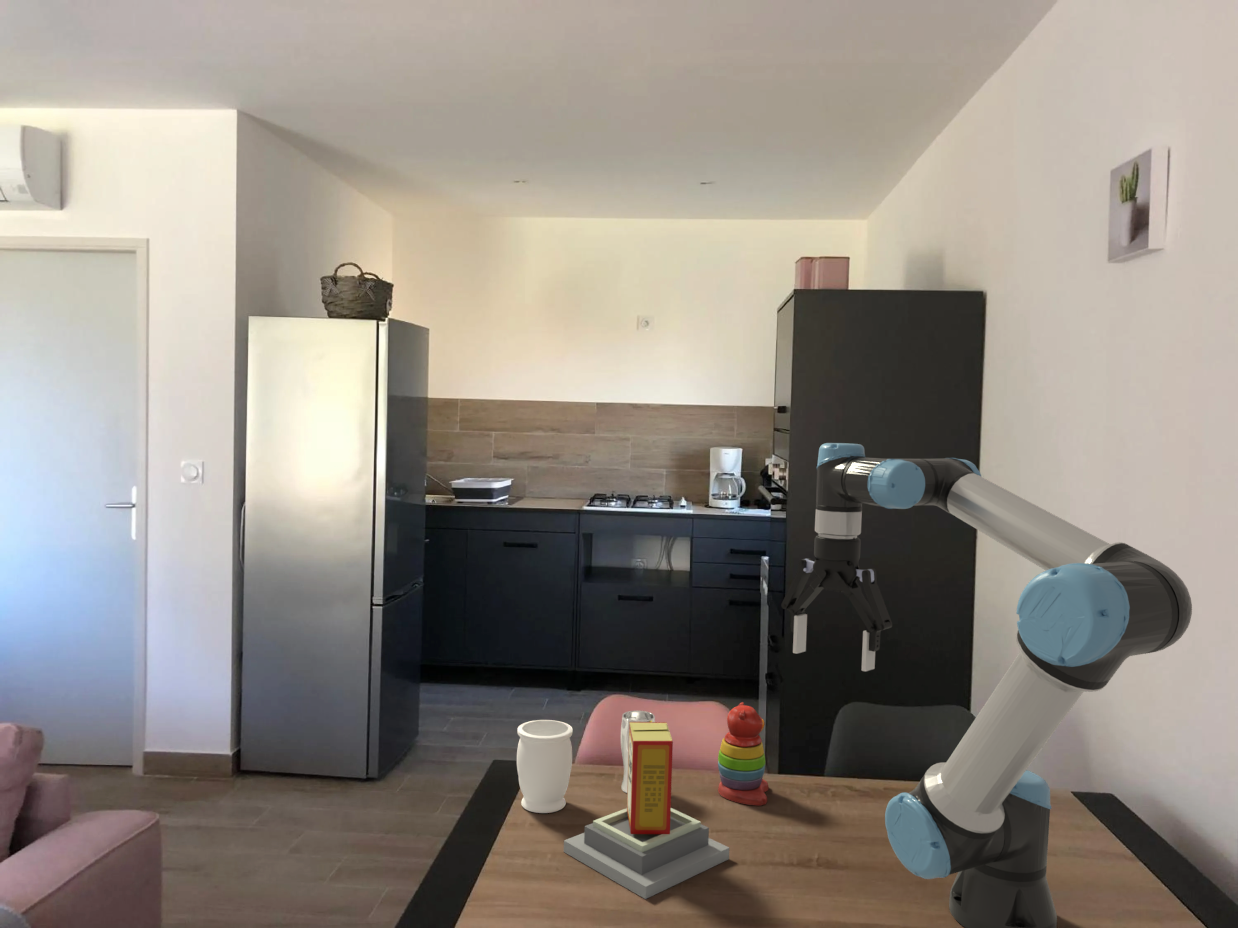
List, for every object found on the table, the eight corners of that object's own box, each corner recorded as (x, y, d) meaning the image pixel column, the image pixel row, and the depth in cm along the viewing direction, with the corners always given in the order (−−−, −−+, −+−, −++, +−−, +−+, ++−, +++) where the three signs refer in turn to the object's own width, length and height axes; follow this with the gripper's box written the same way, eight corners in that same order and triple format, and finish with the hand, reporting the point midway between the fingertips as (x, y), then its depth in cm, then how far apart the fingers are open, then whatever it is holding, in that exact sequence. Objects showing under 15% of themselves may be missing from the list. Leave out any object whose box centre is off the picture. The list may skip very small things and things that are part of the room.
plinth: (729, 858, 157) (730, 824, 156) (645, 898, 143) (646, 861, 143) (646, 818, 171) (647, 787, 171) (563, 851, 158) (564, 817, 157)
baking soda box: (669, 833, 152) (672, 739, 151) (630, 833, 152) (633, 738, 151) (663, 809, 162) (666, 719, 161) (626, 808, 161) (629, 719, 161)
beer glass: (657, 784, 187) (659, 712, 186) (649, 798, 181) (651, 723, 180) (624, 779, 189) (626, 708, 188) (615, 793, 182) (617, 718, 182)
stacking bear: (766, 807, 178) (770, 717, 177) (714, 801, 180) (717, 712, 179) (769, 785, 188) (772, 700, 187) (719, 780, 190) (722, 695, 189)
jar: (506, 811, 173) (508, 733, 172) (528, 790, 183) (529, 716, 182) (559, 820, 170) (561, 740, 169) (578, 798, 180) (580, 722, 179)
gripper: (917, 542, 147) (911, 673, 148) (790, 525, 165) (785, 642, 167) (892, 546, 142) (886, 681, 143) (764, 528, 160) (759, 648, 161)
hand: (832, 660), depth 155 cm, fingers open, 13 cm apart
